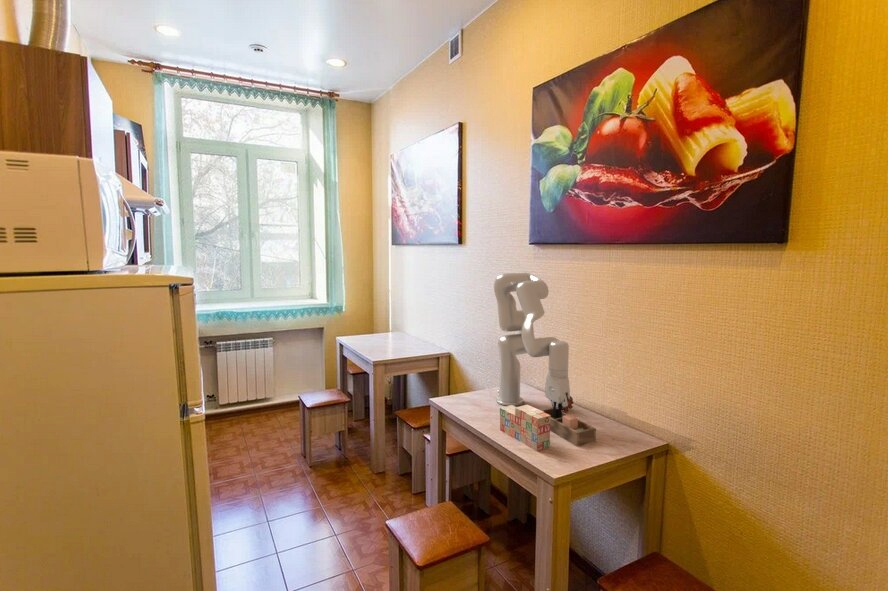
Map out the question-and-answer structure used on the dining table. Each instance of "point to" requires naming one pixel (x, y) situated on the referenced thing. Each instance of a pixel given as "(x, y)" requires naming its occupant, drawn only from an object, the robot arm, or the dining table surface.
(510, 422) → the stack of blocks
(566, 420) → the terracotta block
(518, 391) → the robot arm
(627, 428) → the dining table surface
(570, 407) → the dragon fruit
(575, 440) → the box
